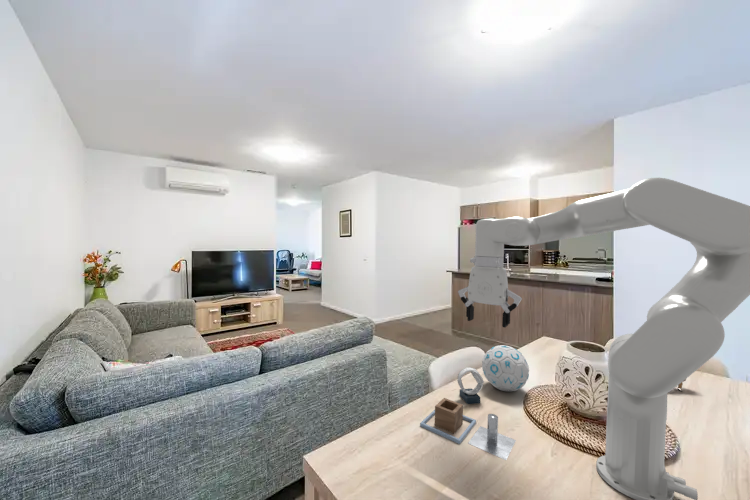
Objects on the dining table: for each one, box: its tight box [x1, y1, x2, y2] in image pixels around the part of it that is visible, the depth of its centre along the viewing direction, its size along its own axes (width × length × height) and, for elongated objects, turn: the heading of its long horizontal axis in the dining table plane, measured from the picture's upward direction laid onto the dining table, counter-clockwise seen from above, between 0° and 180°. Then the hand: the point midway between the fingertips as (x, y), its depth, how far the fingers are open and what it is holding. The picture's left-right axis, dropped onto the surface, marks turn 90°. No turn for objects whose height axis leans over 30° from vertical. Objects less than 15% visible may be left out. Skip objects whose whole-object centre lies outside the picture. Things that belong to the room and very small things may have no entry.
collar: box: [434, 397, 464, 435], centre depth 81 cm, size 6×6×6 cm
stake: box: [467, 413, 517, 461], centre depth 74 cm, size 9×9×8 cm
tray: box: [419, 409, 477, 445], centre depth 81 cm, size 11×11×2 cm
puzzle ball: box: [481, 344, 530, 392], centre depth 104 cm, size 15×15×15 cm
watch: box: [456, 366, 485, 405], centre depth 95 cm, size 6×8×11 cm
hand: (487, 323), depth 84 cm, fingers open, 9 cm apart
